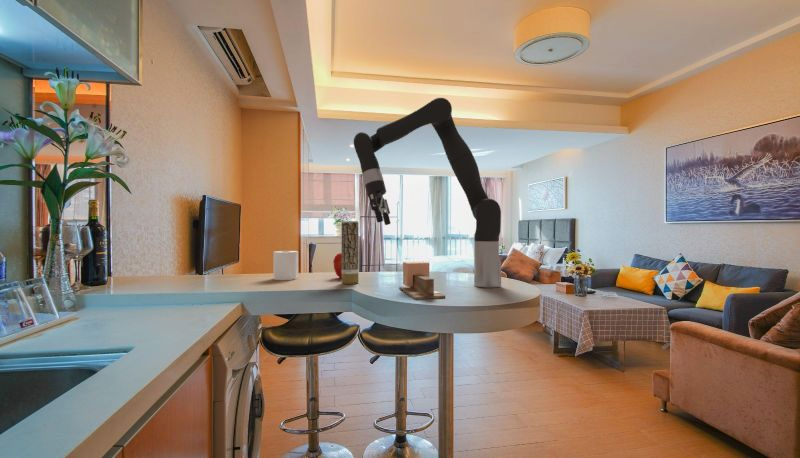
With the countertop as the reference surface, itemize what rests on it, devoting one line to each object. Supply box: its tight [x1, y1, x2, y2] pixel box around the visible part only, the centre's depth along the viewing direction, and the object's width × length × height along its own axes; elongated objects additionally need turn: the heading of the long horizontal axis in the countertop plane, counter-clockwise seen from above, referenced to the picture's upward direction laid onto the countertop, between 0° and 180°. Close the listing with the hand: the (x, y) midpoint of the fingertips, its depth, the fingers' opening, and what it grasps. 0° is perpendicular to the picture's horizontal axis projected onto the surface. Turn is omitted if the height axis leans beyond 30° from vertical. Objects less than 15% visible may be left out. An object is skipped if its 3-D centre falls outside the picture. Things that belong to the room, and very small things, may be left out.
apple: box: [332, 252, 342, 279], centre depth 157 cm, size 9×9×12 cm
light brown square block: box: [402, 260, 430, 287], centre depth 125 cm, size 8×6×8 cm
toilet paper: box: [272, 250, 299, 281], centre depth 155 cm, size 10×10×12 cm
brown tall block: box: [341, 220, 360, 285], centre depth 142 cm, size 7×7×25 cm
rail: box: [399, 275, 446, 300], centre depth 120 cm, size 10×20×6 cm, turn 14°
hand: (384, 223), depth 132 cm, fingers open, 8 cm apart
